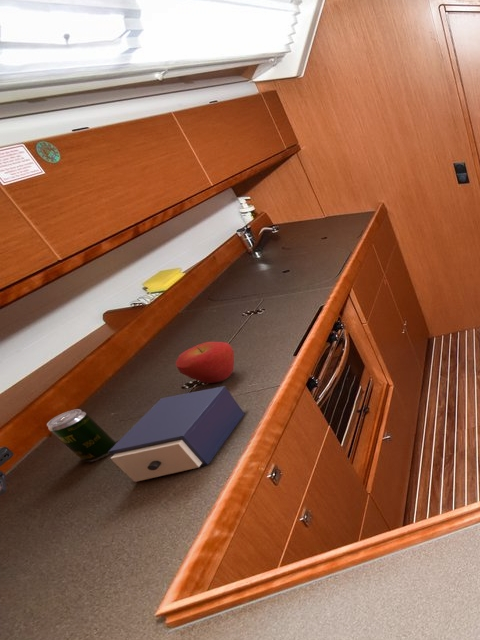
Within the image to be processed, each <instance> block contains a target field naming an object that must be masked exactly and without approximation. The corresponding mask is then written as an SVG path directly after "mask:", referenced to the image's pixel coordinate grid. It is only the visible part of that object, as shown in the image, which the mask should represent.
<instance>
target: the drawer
mask: <svg viewBox="0 0 480 640" xmlns="http://www.w3.org/2000/svg"><path fill="white" fill-rule="evenodd" d="M110 460H111V461H112V462H113V463H114V464H115V465H116V466H117V467H119V469H121V471H123V473H125V474H126V475H127V476H128V477H129V478H130V479H131V480H132V481H133V482H134V483H137V482H140V481H145V480H150V479H153V478H154V479H155V478H158V477H162V476H167V475H171V474H177V473H180V472H184V471H189V470H192V469H193V470H194V469H197V468H198V469H199V468H201V466H200V465H201V464H202V462H201V461H200V460H199V459H198V457H197V456H196V455H195V454H194V453H193V452H192V451H191V449H190V448H189V447H188V446H187V445H186V444H185V443H184V441H183V440H178V441H173V442H169V443H164V444H159V445H152V446H147V447H143V448H138V449H133V450H128V451H126V452H121V453H117V454H114V455H113V456H112V455H111V457H110Z"/></svg>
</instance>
